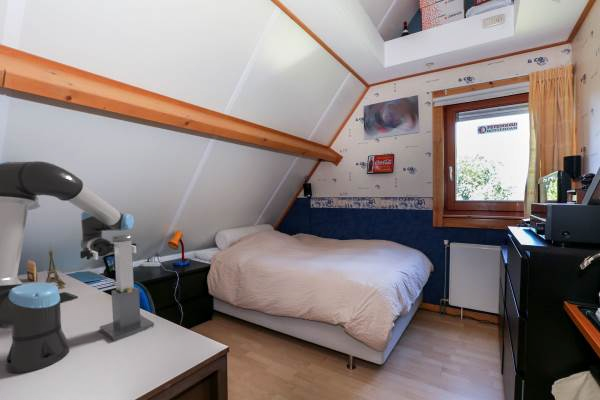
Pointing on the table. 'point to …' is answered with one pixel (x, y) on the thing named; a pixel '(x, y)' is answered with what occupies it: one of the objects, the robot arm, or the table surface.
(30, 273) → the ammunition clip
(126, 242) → the column
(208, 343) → the table surface
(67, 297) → the phone
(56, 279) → the eiffel tower
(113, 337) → the jack stand base
